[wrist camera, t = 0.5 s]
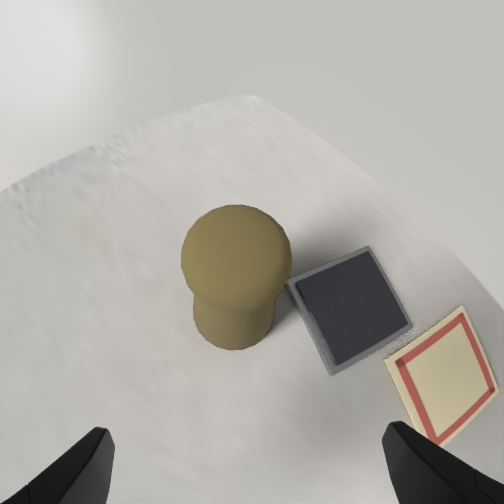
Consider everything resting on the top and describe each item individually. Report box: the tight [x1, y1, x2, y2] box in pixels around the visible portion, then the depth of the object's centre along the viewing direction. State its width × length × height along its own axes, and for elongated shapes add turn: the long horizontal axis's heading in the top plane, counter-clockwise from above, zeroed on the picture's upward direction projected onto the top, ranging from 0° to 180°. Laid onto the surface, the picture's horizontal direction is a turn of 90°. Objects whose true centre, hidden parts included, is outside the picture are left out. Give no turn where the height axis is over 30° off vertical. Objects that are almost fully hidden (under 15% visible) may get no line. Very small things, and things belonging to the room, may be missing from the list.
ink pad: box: [286, 246, 413, 376], centre depth 23 cm, size 8×8×1 cm
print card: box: [384, 305, 499, 448], centre depth 21 cm, size 10×10×1 cm
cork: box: [181, 205, 292, 350], centre depth 18 cm, size 6×6×11 cm
